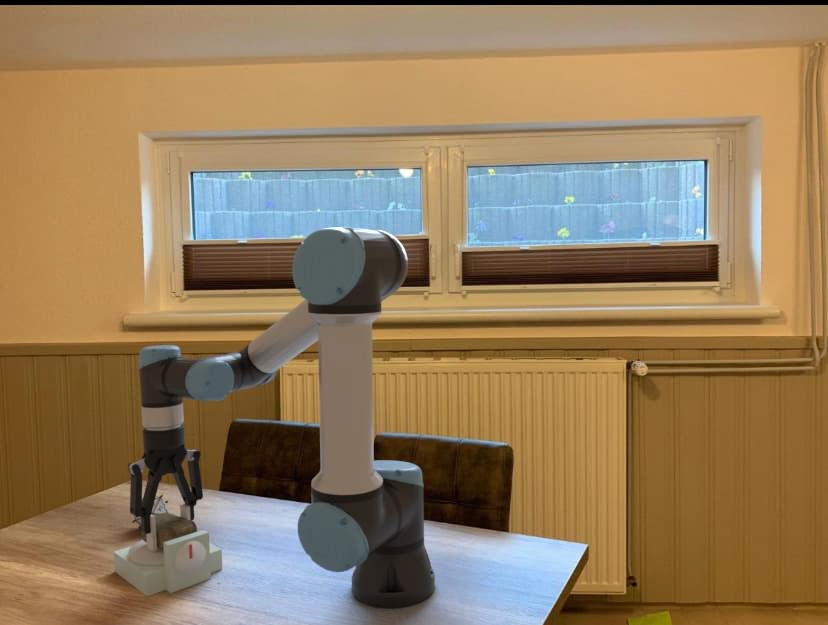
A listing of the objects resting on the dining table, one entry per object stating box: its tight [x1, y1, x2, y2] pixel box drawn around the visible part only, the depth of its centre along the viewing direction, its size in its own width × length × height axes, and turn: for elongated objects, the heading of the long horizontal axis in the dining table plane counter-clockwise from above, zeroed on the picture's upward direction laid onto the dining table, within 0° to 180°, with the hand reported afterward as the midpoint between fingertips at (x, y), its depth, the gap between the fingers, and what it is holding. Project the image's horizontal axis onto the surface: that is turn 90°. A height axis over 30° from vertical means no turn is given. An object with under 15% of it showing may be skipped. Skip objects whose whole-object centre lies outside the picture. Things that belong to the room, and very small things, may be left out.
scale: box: [113, 529, 223, 597], centre depth 132 cm, size 18×15×9 cm
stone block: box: [140, 512, 198, 549], centre depth 132 cm, size 6×12×5 cm, turn 54°
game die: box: [131, 494, 169, 529], centre depth 155 cm, size 9×8×10 cm
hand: (169, 542), depth 132 cm, fingers closed on stone block, 6 cm apart
